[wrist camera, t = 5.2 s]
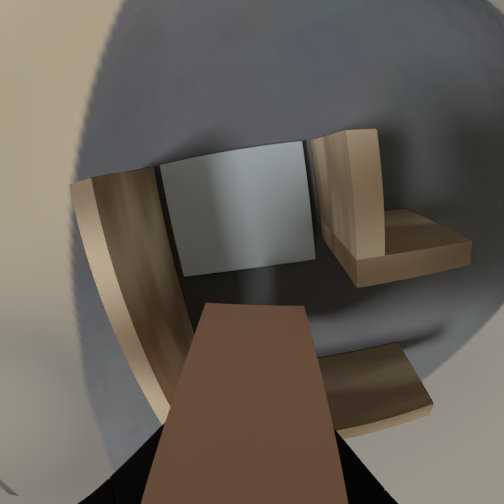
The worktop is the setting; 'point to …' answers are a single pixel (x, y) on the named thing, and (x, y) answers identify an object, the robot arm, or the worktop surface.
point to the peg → (248, 416)
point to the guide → (259, 257)
